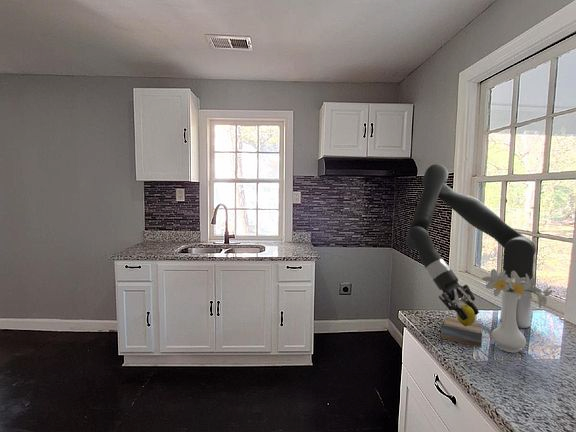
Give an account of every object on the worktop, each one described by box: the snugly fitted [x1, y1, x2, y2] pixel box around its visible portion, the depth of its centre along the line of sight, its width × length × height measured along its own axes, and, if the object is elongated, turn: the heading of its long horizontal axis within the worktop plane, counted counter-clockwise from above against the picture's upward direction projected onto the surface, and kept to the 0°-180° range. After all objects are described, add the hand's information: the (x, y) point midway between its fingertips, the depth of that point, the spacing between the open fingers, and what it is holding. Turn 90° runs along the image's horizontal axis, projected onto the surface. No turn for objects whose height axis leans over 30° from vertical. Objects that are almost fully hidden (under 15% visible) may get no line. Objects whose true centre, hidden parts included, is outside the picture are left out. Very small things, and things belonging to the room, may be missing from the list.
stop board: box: [440, 316, 483, 348], centre depth 118 cm, size 18×12×4 cm, turn 150°
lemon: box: [456, 304, 476, 326], centre depth 116 cm, size 6×6×8 cm
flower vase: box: [482, 268, 553, 354], centre depth 105 cm, size 13×18×25 cm
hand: (471, 316), depth 114 cm, fingers closed on lemon, 5 cm apart
